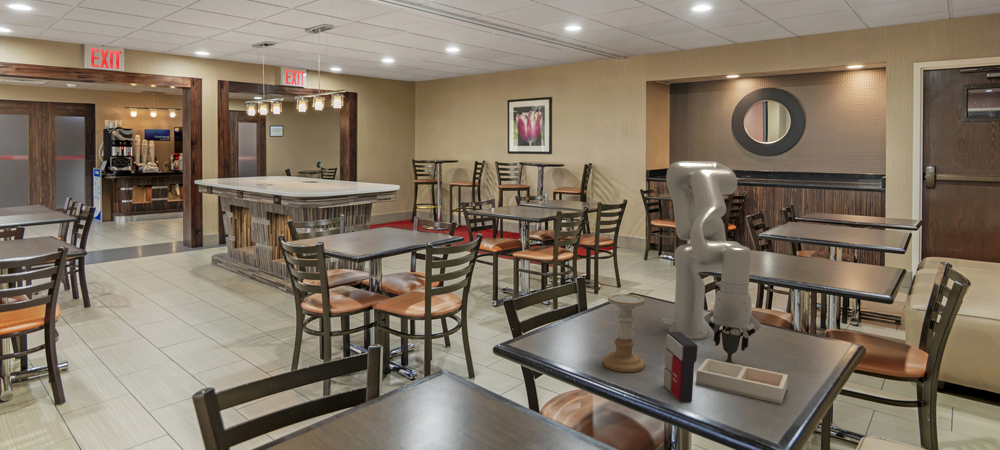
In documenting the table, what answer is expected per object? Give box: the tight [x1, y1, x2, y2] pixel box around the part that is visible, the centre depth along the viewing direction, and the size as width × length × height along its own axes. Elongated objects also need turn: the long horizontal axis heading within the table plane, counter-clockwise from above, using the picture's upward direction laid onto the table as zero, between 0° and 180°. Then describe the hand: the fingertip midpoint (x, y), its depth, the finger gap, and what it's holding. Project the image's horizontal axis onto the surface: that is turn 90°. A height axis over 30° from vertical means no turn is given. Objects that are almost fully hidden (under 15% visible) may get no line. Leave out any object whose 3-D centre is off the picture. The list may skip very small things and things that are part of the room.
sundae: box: [719, 326, 744, 364], centre depth 167 cm, size 7×7×15 cm
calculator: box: [663, 331, 698, 403], centre depth 147 cm, size 11×4×15 cm, turn 5°
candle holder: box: [601, 293, 646, 373], centre depth 166 cm, size 12×12×20 cm
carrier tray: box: [695, 358, 789, 405], centre depth 153 cm, size 21×11×4 cm, turn 57°
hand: (730, 346), depth 168 cm, fingers closed on sundae, 6 cm apart
